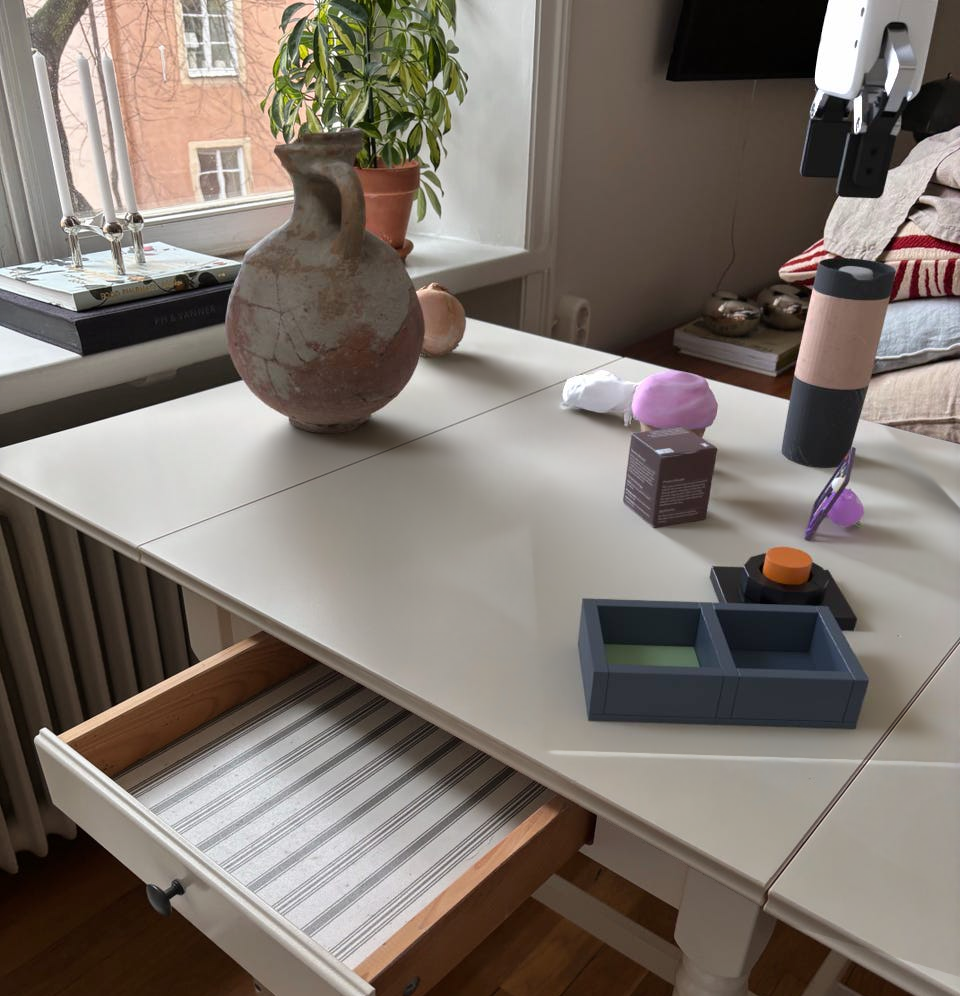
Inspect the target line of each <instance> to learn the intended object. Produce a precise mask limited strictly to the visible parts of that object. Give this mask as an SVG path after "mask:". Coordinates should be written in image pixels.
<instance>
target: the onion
mask: <svg viewBox="0 0 960 996" xmlns="http://www.w3.org/2000/svg"><path fill="white" fill-rule="evenodd" d="M415 290H416V289H415ZM416 293H417V296H418V299H419V302H420V304H421V308H422V311H423V317H424V323H425V335H424V342H423V347H422V351H421V354H420V356H423V357H425V358H429V356H430V357H437V356H443V357H445V354H446V353H447V354H448V355H450V354H453V351H454V350H457V348H458V347H459V346H460V342H462V340H463V338H464V335H465V332H466V329H467V328H466V327H467V319H466V313H465V309H464V307H463V305H462V303H461V302H460V301H459V300H458V299H457V297H455V296H454V295H453V294H452V293H451V292H450V291H449V289H448V288H446V287H445V286H444V285H442V284H441V283H438V282H432V283H431V284H430V285H429V284H427V285H424V286H423V287H421V288H419V289H417V290H416Z"/></svg>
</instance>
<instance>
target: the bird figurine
mask: <svg viewBox="0 0 960 996" xmlns="http://www.w3.org/2000/svg"><path fill="white" fill-rule="evenodd" d="M641 382H642V381H640V382H632V381H629V380H626V379H622V378H620V377H619V376H617V375H616V374H615V373H612V372H610V371H608V370H599V371H596V372H595V373H594V374H590V375H589V374H581V375H576V376H575V375H574V376H573V377H571V378H568V379H567V380H566V383H565V385H564V387H563V391H562V400H563V402H561V403H560V405H561V406H564V407H573V408H577V409H584V410H586V411H589V412H590V411H591V412H593V413H594V412H595V413H599V414H600V413H601V414H606V413H607V412H614V413H616V412H617V413H618V412H619V413H620V412H623V411H624V413H623V414H624V417H623V422H624V424H623V426H624V427H628V426H629V425H632V422H631V421H632V418H633V420H635V421H638V420H637V418H636V417H635V416H634V414H633V410H632V402H633V398H634V394H635V391H636V389H637V387H638V386H639V384H640V383H641Z"/></svg>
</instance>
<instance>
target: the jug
mask: <svg viewBox="0 0 960 996" xmlns="http://www.w3.org/2000/svg"><path fill="white" fill-rule="evenodd" d="M363 138H364V131H363V130H362V129H360V128H357V127H340V128H339V130H338V131H325V132H322V131H321V132H308V133H305V132H304V133H302V134H301V135H299V136H298V137H297V138H296V139H294V141H293V142H291V143H283V144H282V143H281V144H276V145H275V147H274V149H273V153H274V154H275V155H276V156H277V158H278V159H279V161H280V166H281V167H282V168H283V169H284V170H285V171H286V172H287V174H288V175H289V178H290V180H291V183H292V189H293V203H292V209H291V212H290V217H289V218H288V219H287V221H285V222H284V223H283V224H282V225H281V226H279V227H277V228H275V229H273V230H272V231H271V232H269V233H268V234H267V235H266V236H264V237H263V238H262V239H261V240H259V241H258V242H257V243H255V244H254V245H253V246H252V247H250V248H249V249H248V250H247V251H246V252H245V254H244V257H243V260H242V263H241V266H240V269H239V271H238V274H237V276H236V278H235V280H234V282H233V285H232V288H231V291H230V294H228V296H229V297H228V300H227V301H228V302H227V308H226V313H225V322H224V323H225V337H226V342H227V348H228V352H229V355H230V358H231V361H232V364H233V365H234V368H235V370H236V371H237V373H238V375H239V376H240V378H241V380H242V382H244V384H245V385H246V386H247V388H248V389H249V390H250V392H251V393H252V394H253V395H254V396H255V397H257V398H258V399H259V400H260V401H261V402H262V403H263V404H265V405H266V406H268V407H269V408H270V409H273V410H274V411H276V412H277V413H279V414H281V415H283V416H285V417H287V418H288V421H289V423H290V424H292V425H293V426H295V427H297V428H299V429H302V430H303V431H306V432H310V433H323V434H330V433H331V434H339V433H343V432H347V431H352V430H354V429H357V428H359V427H360V425H361V424H364V423H366V421H367V420H368V419H370V418H371V417H372V414H374V413H376V412H378V411H380V410H381V409H383V408H384V407H386V406H387V405H388V404H389V403H391V402H392V401H393V400H394V399H396V397H398V395H400V394H401V392H402V391H403V390H404V389H405V388H406V386H407V385H408V384H409V382H410V380H411V378H412V377H413V375H414V373H415V371H416V369H417V366H418V364H419V362H420V358H421V355H420V354H421V351H422V347H423V342H424V335H425V323H424V317H423V311H422V308H421V304H420V302H419V299H418V296H417V293H416V288H415V286H414V285H415V284H414V283H413V281H412V278H411V277H410V274H409V272H408V270H407V268H406V267H405V265H404V263H403V260H402V259H401V257H400V254H399V252H398V250H396V249H395V248H394V247H393V246H392V245H390V244H389V243H388V242H386V241H384V240H383V239H381V238H380V237H378V236H377V235H376V234H374V233H373V232H372V231H370V230H369V229H367V228H366V227H367V226H366V225H367V210H366V209H367V206H366V203H367V202H366V199H365V192H364V188H363V184H362V181H361V179H360V177H359V175H358V173H357V172H356V170H355V168H354V165H355V161H356V157H357V156H358V154H359V153H361V152H362V151H363V150H364V140H363Z"/></svg>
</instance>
